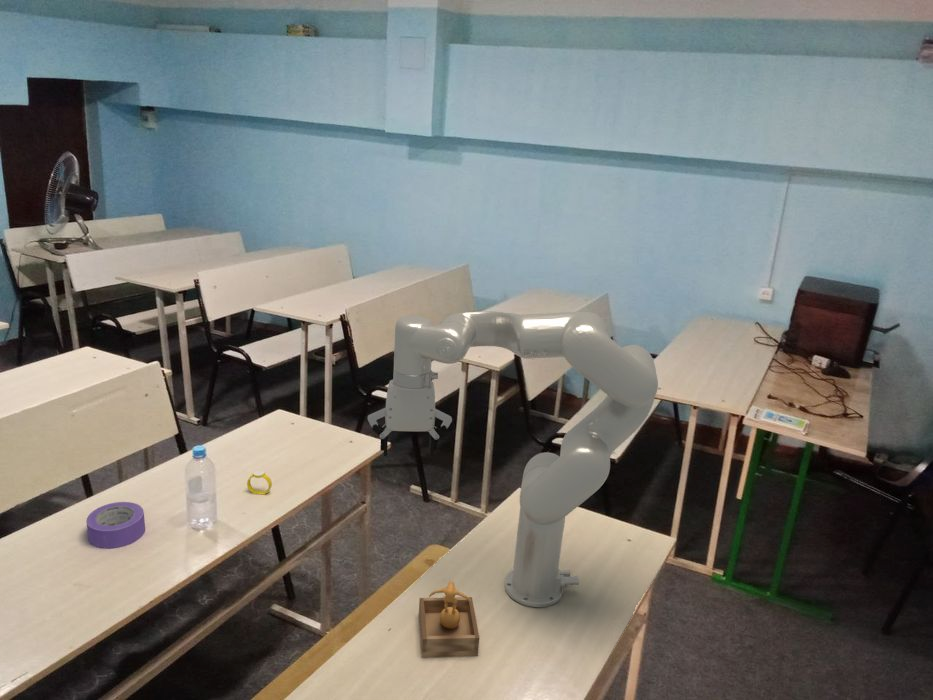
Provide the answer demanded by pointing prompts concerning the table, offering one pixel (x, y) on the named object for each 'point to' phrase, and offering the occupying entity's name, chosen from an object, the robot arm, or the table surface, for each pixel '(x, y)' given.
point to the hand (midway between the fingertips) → (408, 453)
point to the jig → (443, 639)
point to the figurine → (450, 614)
